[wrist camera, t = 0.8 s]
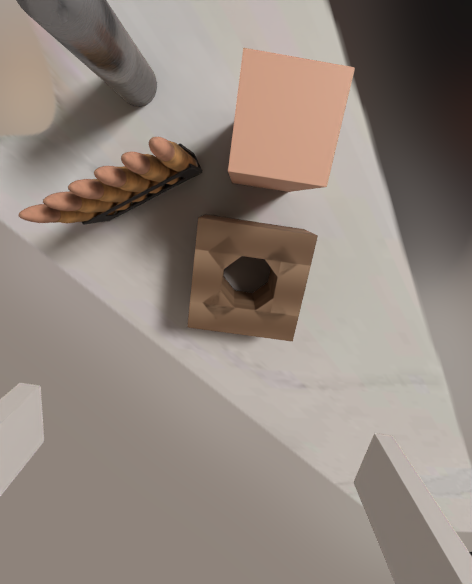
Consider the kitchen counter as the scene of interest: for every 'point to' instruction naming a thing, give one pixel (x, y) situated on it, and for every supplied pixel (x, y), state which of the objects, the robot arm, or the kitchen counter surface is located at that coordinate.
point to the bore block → (264, 301)
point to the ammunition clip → (119, 186)
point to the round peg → (97, 44)
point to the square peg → (287, 121)
